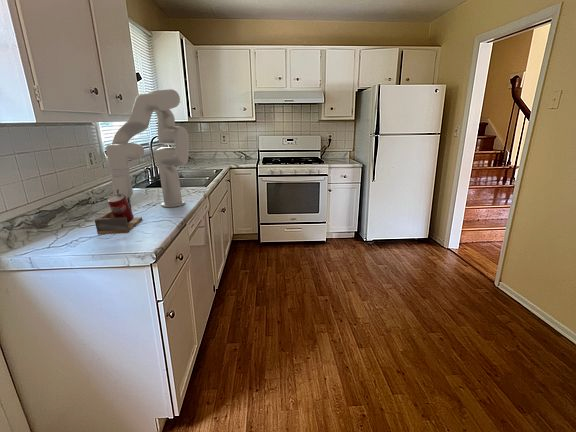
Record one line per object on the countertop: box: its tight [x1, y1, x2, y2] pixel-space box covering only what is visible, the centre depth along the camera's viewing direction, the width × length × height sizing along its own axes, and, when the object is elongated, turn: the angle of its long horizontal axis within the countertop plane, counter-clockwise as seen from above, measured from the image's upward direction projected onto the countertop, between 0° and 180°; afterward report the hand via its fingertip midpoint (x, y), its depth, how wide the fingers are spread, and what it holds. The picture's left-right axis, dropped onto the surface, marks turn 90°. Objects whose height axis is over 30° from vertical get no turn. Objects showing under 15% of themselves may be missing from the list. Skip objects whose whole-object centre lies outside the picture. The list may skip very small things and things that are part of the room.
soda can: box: [106, 194, 135, 223], centre depth 134 cm, size 7×7×12 cm
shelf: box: [94, 209, 143, 236], centre depth 136 cm, size 18×12×6 cm, turn 6°
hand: (127, 212), depth 141 cm, fingers closed
